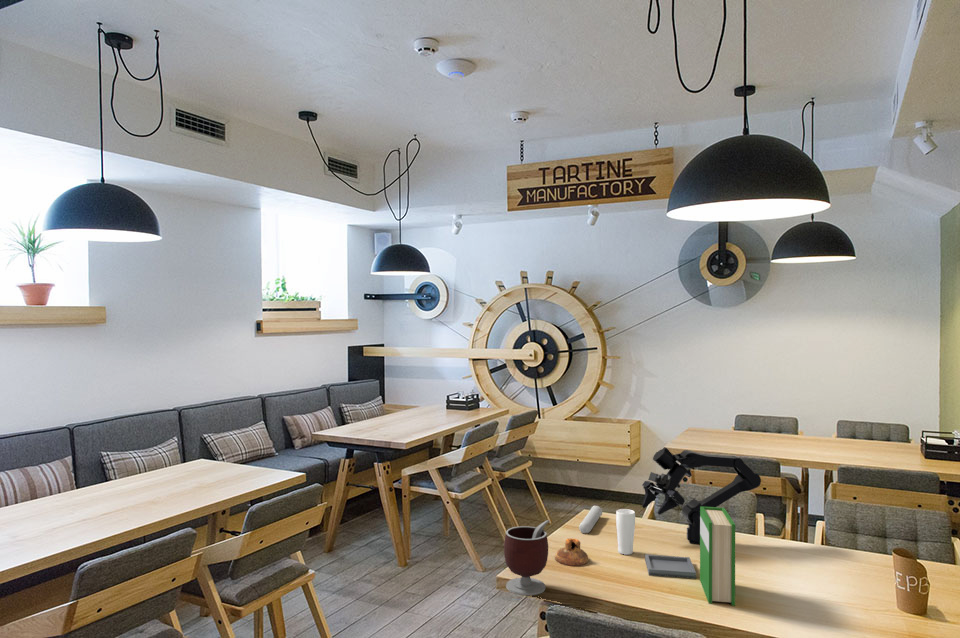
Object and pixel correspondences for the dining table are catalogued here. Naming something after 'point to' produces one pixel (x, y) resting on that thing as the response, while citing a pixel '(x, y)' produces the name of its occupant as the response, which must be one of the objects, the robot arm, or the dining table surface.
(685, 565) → the serving tray
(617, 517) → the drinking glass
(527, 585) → the mate gourd
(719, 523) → the hardback book
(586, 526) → the tube
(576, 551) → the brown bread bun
